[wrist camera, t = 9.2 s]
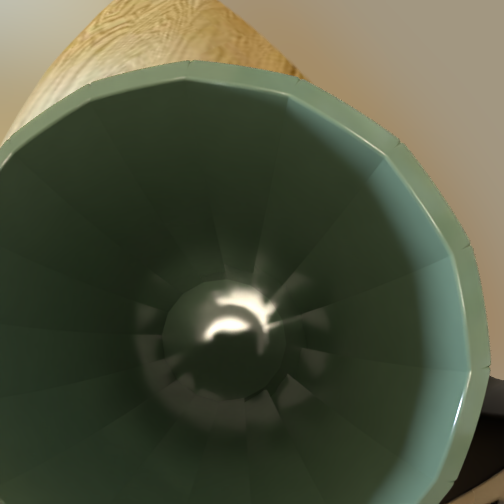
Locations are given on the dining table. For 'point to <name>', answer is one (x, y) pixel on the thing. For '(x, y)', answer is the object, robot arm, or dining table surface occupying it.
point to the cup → (230, 300)
